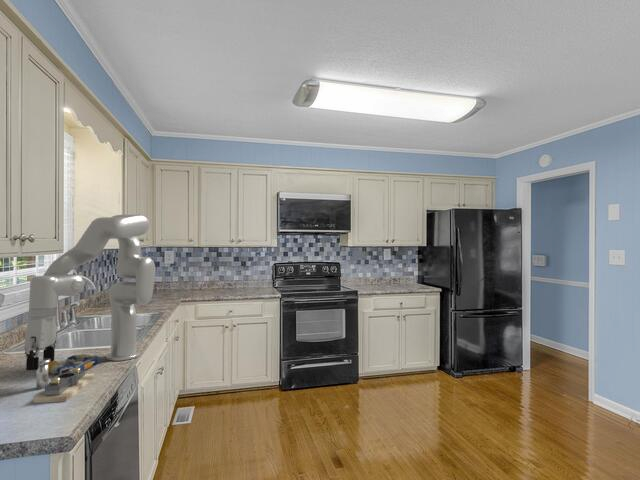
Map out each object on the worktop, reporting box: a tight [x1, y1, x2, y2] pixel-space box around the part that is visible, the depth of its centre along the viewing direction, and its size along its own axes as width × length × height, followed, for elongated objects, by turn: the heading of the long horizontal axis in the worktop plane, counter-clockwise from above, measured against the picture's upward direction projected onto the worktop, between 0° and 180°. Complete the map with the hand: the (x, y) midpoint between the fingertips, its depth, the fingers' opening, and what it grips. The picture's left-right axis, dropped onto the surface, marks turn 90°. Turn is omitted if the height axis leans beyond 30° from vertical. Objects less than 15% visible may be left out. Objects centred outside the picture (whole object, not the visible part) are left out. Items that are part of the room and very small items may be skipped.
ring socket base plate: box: [33, 367, 95, 404], centre depth 122 cm, size 20×9×6 cm, turn 11°
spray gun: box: [48, 353, 102, 375], centre depth 142 cm, size 21×4×15 cm
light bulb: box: [35, 358, 51, 390], centre depth 123 cm, size 4×4×9 cm
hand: (40, 365), depth 123 cm, fingers open, 9 cm apart
